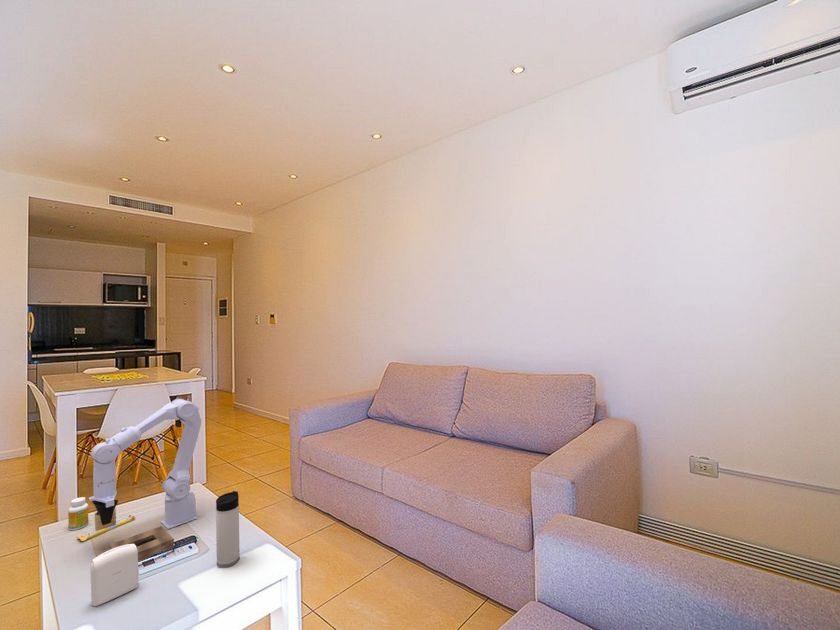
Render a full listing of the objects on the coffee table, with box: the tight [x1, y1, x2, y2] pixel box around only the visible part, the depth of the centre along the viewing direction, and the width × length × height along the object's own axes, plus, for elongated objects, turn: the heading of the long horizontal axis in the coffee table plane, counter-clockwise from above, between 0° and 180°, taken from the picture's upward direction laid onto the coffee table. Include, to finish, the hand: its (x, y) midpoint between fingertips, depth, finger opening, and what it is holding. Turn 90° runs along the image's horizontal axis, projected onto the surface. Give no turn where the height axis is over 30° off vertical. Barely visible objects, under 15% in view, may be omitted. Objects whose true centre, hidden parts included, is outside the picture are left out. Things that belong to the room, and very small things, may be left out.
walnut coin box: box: [109, 525, 175, 562], centre depth 124 cm, size 14×12×4 cm
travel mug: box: [215, 490, 241, 569], centre depth 119 cm, size 6×7×20 cm
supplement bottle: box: [68, 496, 89, 531], centre depth 141 cm, size 5×5×10 cm
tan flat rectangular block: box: [94, 508, 117, 531], centre depth 127 cm, size 5×2×5 cm, turn 139°
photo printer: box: [90, 544, 140, 607], centre depth 105 cm, size 10×4×12 cm, turn 140°
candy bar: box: [76, 514, 137, 542], centre depth 139 cm, size 17×4×2 cm, turn 153°
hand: (105, 522), depth 127 cm, fingers closed on tan flat rectangular block, 2 cm apart
